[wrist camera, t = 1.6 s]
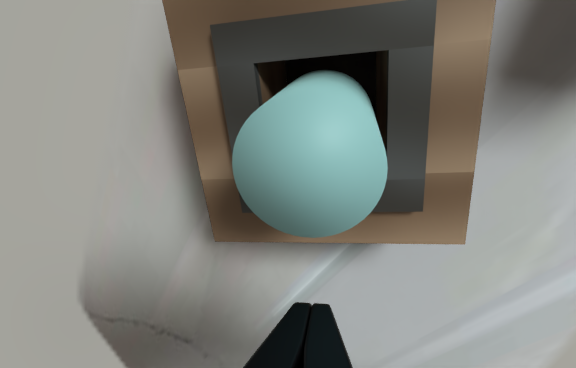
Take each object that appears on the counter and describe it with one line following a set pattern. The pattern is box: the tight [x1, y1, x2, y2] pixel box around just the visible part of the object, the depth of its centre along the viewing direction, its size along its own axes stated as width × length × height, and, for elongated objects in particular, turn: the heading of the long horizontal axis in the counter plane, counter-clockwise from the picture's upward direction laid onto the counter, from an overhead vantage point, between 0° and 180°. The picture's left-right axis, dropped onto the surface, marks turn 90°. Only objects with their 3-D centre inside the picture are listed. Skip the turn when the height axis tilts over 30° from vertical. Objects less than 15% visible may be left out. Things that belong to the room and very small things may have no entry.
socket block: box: [162, 0, 496, 244], centre depth 16 cm, size 12×12×7 cm
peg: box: [232, 70, 388, 238], centre depth 11 cm, size 4×4×6 cm
